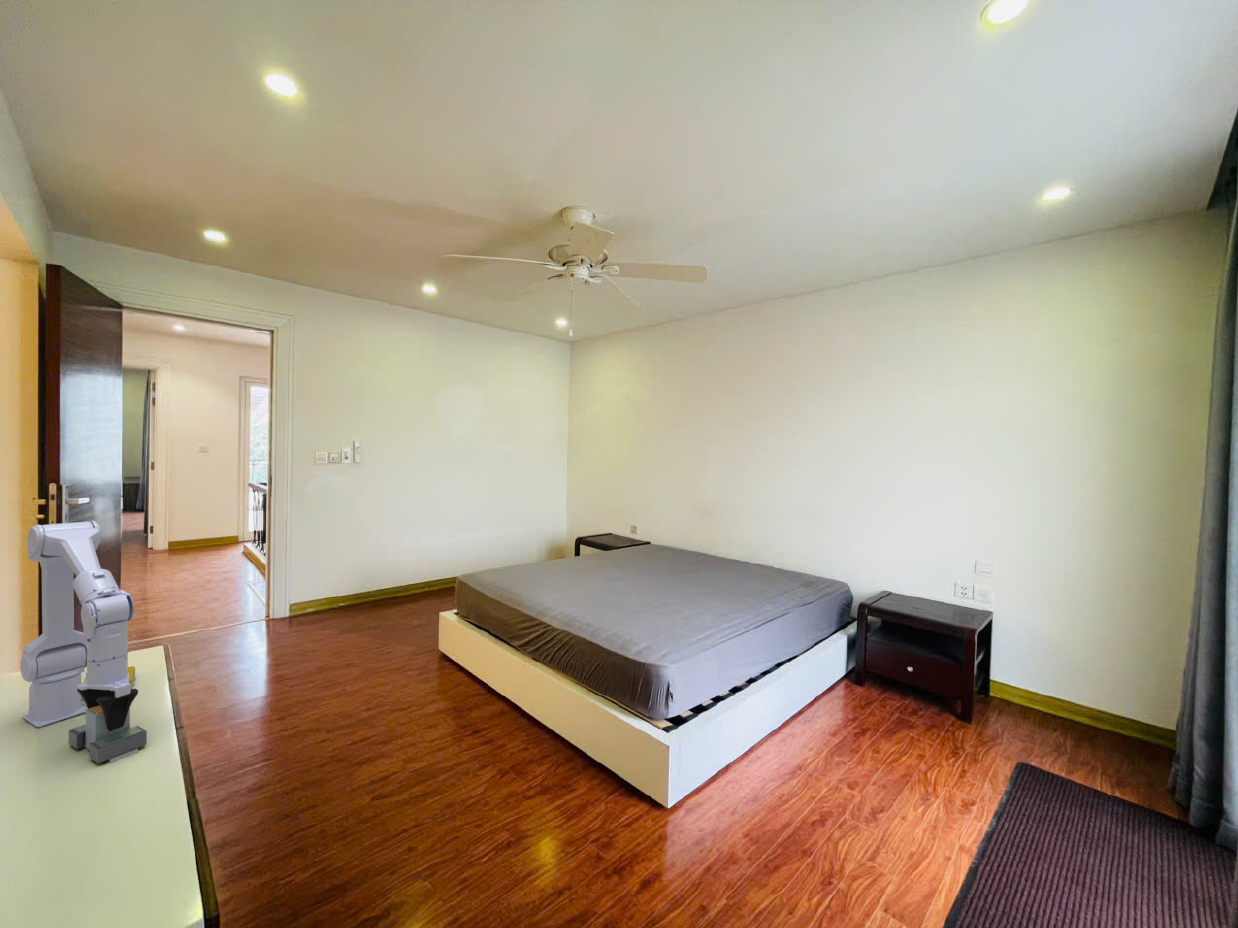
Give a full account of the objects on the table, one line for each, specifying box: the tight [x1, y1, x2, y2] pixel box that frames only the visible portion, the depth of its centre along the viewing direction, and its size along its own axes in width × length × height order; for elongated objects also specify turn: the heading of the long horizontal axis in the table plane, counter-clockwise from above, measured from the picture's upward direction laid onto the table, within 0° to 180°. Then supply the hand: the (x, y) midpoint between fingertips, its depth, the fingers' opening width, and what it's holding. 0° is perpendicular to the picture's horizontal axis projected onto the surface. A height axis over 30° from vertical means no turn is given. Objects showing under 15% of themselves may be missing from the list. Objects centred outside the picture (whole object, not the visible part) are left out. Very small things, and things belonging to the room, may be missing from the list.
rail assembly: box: [68, 723, 148, 764], centre depth 99 cm, size 15×7×4 cm, turn 64°
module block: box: [85, 705, 131, 750], centre depth 99 cm, size 4×5×8 cm
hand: (107, 723), depth 99 cm, fingers open, 7 cm apart
